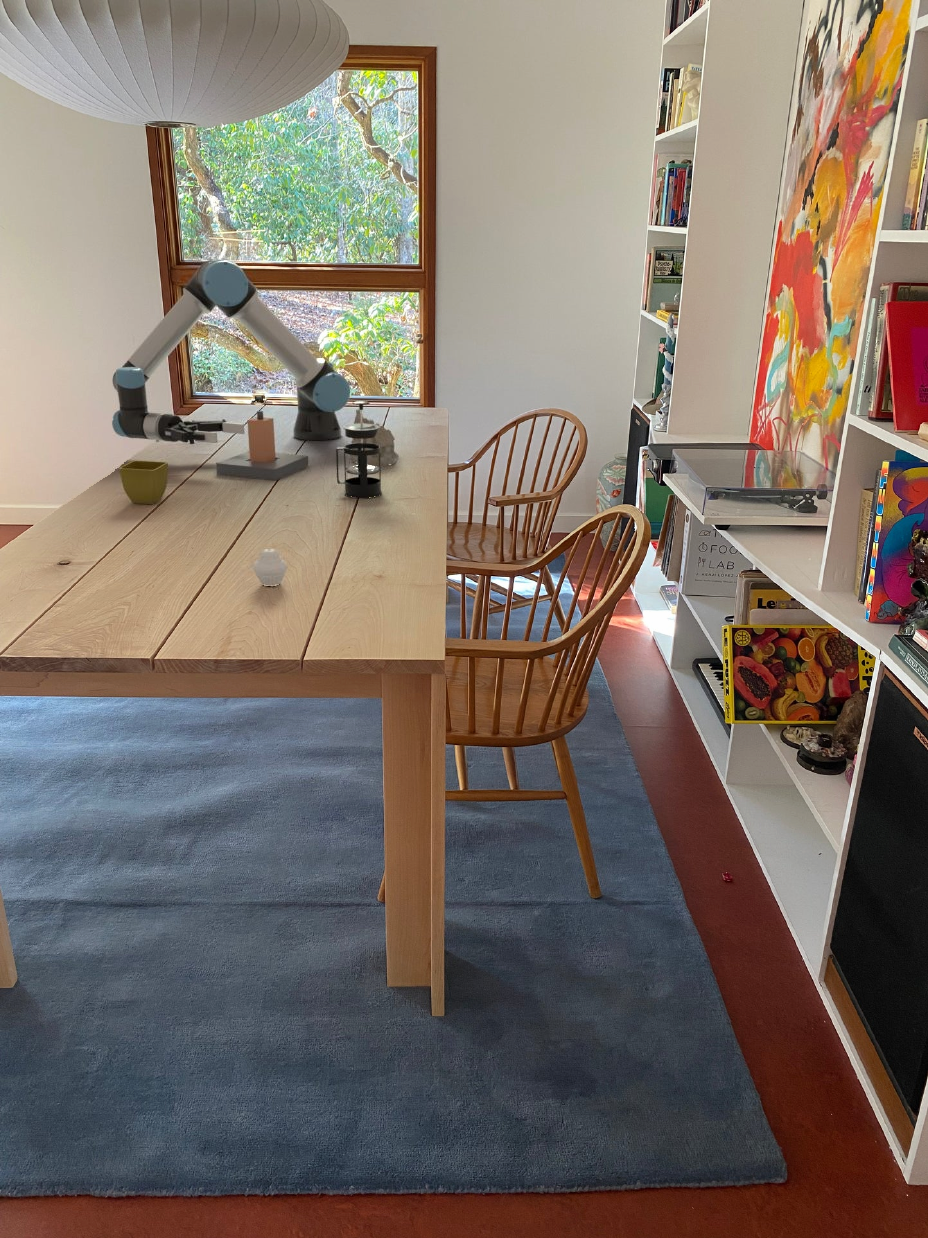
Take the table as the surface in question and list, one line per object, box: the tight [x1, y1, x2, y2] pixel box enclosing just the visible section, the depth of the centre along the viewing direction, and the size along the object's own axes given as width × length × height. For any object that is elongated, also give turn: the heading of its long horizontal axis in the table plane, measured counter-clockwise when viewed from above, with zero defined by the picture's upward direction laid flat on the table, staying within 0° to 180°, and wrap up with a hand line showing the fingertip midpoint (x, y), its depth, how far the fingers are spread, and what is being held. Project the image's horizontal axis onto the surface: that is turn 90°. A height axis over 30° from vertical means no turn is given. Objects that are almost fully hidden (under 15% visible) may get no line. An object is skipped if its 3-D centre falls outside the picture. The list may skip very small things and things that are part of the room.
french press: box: [335, 400, 383, 499], centre depth 233 cm, size 12×9×23 cm
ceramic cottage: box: [349, 408, 399, 467], centre depth 271 cm, size 16×16×15 cm
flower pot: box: [118, 460, 169, 505], centre depth 225 cm, size 9×9×9 cm
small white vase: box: [252, 548, 288, 585], centre depth 173 cm, size 6×6×7 cm
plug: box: [247, 410, 276, 463], centre depth 256 cm, size 5×5×16 cm
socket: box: [215, 451, 309, 481], centre depth 258 cm, size 18×18×3 cm
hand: (230, 433), depth 258 cm, fingers open, 13 cm apart
